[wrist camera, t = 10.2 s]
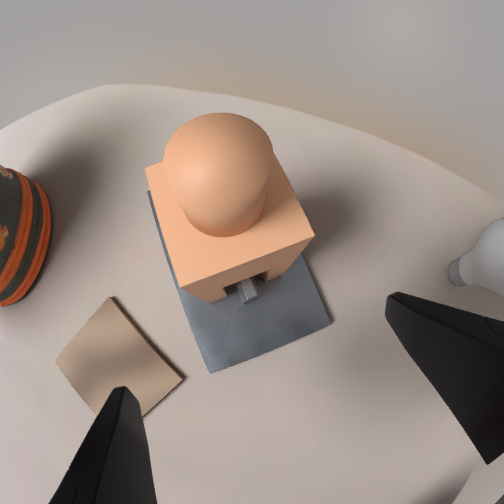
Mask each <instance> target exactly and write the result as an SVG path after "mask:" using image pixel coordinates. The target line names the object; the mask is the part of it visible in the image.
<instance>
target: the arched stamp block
mask: <svg viewBox="0 0 504 504" xmlns="http://www.w3.org/2000/svg"><path fill="white" fill-rule="evenodd" d="M145 172H146V176H147V180H148V184H149V188H150V192H151V195H152V199H153V203H154V206H155V210H156V214H157V217H158V221H159V224H160V227H161V231H162V234H163V237H164V241H165V244H166V247H167V250H168V254H169V257H170V260H171V263H172V266H173V269H174V272H175V275H176V278H177V281H178V284H179V287H180V288H182V289H183V290H185V291H187V292H189V293H190V294H192V295H194V296H196V297H198V298H200V299H201V300H203V301H205V302H207V303H212V302H214V301H217V300H220V299H222V298H225V297H227V294H226V291H225V289H224V287H226V286H228V285H231V284H234V283H236V282H239V281H241V280H244V279H247V278H249V277H252V276H254V275H257V274H259V273H261V275H262V277H263V280H264V282H266V281H269V280H271V279H274V278H276V277H279V276H281V275H283V274H284V273H285V271H286V270H287V269H288V268H289V267H290V265H291V264H292V263H293V262H294V261H295V259H296V258H297V257H298V256H299V255H300V253H301V252H302V251H303V250H304V249H305V247H306V246H307V245H308V244H309V242H310V241H311V240H312V239H313V238H314V236H315V234H314V232H313V230H312V228H311V226H310V224H309V222H308V219H307V217H306V215H305V213H304V211H303V209H302V207H301V205H300V203H299V201H298V199H297V197H296V195H295V193H294V191H293V189H292V187H291V185H290V183H289V181H288V179H287V177H286V175H285V173H284V171H283V169H282V167H281V165H280V164H279V162H278V160H277V158H276V156H275V154H274V152H273V148H272V144H271V141H270V139H269V137H268V135H267V134H266V132H265V131H264V130H263V129H262V128H261V127H260V126H259V125H258V124H256V123H255V122H253V121H252V120H250V119H248V118H246V117H243V116H240V115H237V114H231V113H212V114H207V115H203V116H200V117H197V118H195V119H193V120H191V121H189V122H187V123H186V124H184V125H183V126H181V127H180V128H179V129H178V130H177V131H176V132H175V133H174V134H173V136H172V137H171V138H170V140H169V141H168V143H167V146H166V148H165V151H164V156H163V161H162V162H159V163H157V164H154V165H152V166H149V167H147V168H145Z"/></svg>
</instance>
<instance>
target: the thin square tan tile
mask: <svg viewBox="0 0 504 504" xmlns="http://www.w3.org/2000/svg"><path fill="white" fill-rule="evenodd" d="M55 362H56V364H57V365H58V367H59V368H60V370H61V371H62V372H63V374H64V375H65V377H66V378H67V379H68V381H69V382H70V383H71V385H72V386H73V387H74V389H75V390H76V391H77V393H78V394H79V395H80V397H81V398H82V399H83V400H84V402H85V403H86V404H87V405H88V406H89V408H90V409H91V410H92V411H93V412H94V413H95V415H96V416H97V415H98V414H99V412H100V410H101V408H102V407H103V405H104V403H105V402H106V400H107V398H108V397H109V395H110V393H111V391H112V390H113V389H114V388H115V387H119V386H126V387H128V389H129V390H130V391H131V392H132V393H133V395H134V396H135V397H136V398H137V400H138V401H139V404H140V408H141V413H142V416H144V415H145V414H146V413H147V412H148V411H149V410H150V409H151V408H152V407H154V406H155V405H156V404H157V403H158V402H159V401H160V400H161V399H162V398H163V397H165V396H166V395H167V394H168V393H169V392H170V391H171V390H172V389H173V388H174V387H175V386H176V385H177V384H179V383H180V382H181V381H182V380H183V378H182V377H181V376H180V375H179V374H178V373H177V372H176V371H175V370H174V369H173V367H172V366H171V365H170V364H169V363H168V362H167V361H166V360H165V359H164V358H163V357H162V356H161V355H160V354H159V353H158V352H157V351H156V349H155V348H154V347H153V346H152V345H151V344H150V343H149V342H148V341H147V339H146V338H145V337H144V336H143V335H142V334H141V333H140V331H139V330H138V329H137V328H136V327H135V326H134V324H133V323H132V322H131V321H130V320H129V318H128V317H127V316H126V315H125V314H124V312H123V311H122V310H121V309H120V307H119V306H118V305H117V304H116V302H115V301H114V300H113V298H112V297H109V298H108V299H107V300H106V301H105V302H104V303H103V304H102V305H101V307H100V308H99V309H98V310H97V311H96V312H95V313H94V314H93V316H92V317H91V318H90V319H89V320H88V321H87V322H86V324H85V325H84V326H83V327H82V328H81V329H80V331H79V332H78V333H77V334H76V335H75V337H74V338H73V339H72V340H71V341H70V343H69V344H68V345H67V346H66V347H65V349H64V350H63V351H62V352H61V354H60V355H59V356H58V357H57V359H56V360H55Z"/></svg>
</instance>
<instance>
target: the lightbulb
mask: <svg viewBox="0 0 504 504" xmlns="http://www.w3.org/2000/svg"><path fill="white" fill-rule="evenodd" d="M448 274H449V278H450V281H451V282H452V283H453V284H454V285H455V286H463V285H469V286H477V285H478V286H484V287H486V288H487V289H489V290H491V291H492V292H494V293H496V294H499V295H503V296H504V218H499V219H497V220H495V221H493V222H492V223H491V224H490V225H489V226H488V227H487V228H486V229H485V230H484V232H483V233H482V235H481V237H480V238H479V240H478V242H477V244H476V246H475V247H474V248H473V249H472V250H470V251H469V252H467V253H465V254H464V255H463V256H462V257H461V258H459V259H457V260H455V261H453V262H452V263H451V264H450V266H449V271H448Z"/></svg>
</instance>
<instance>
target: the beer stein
mask: <svg viewBox="0 0 504 504" xmlns="http://www.w3.org/2000/svg"><path fill="white" fill-rule="evenodd" d="M50 233H51V212H50V206H49V202H48V198H47V196H46V194H45V192H44V190H43V189H42V187H41V186H40V185H39V184H38V183H36V182H34V181H31V180H29V179H28V178H27V177H25V176H24V175H22V174H21V173H19V172H17V171H15V170H13V169H9V168H4V167H3V166H1V165H0V306H7V305H10V304H12V303H14V302H16V301H18V300H19V299H21V298H22V297H23V296H24V295H25V294H26V292H27V291H28V290H29V288H30V287H31V285H32V284H33V282H34V280H35V278H36V277H37V275H38V273H39V271H40V268H41V266H42V263H43V261H44V258H45V255H46V252H47V249H48V245H49V240H50Z"/></svg>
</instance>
